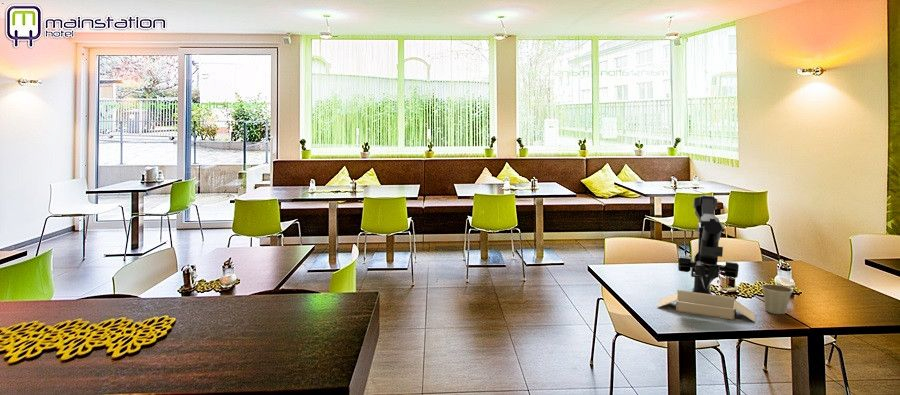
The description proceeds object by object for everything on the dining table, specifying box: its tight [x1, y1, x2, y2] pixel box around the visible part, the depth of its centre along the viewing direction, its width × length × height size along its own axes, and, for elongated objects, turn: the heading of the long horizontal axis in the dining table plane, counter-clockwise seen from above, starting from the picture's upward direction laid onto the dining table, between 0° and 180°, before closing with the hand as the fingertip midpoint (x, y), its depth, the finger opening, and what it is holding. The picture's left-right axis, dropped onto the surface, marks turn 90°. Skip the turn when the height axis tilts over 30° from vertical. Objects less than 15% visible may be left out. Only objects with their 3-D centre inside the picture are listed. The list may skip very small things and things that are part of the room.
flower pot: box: [761, 284, 794, 315], centre depth 184 cm, size 9×9×9 cm
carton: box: [657, 292, 756, 323], centre depth 186 cm, size 16×30×4 cm, turn 62°
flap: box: [676, 289, 735, 309], centre depth 176 cm, size 1×17×7 cm
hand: (705, 288), depth 178 cm, fingers closed
